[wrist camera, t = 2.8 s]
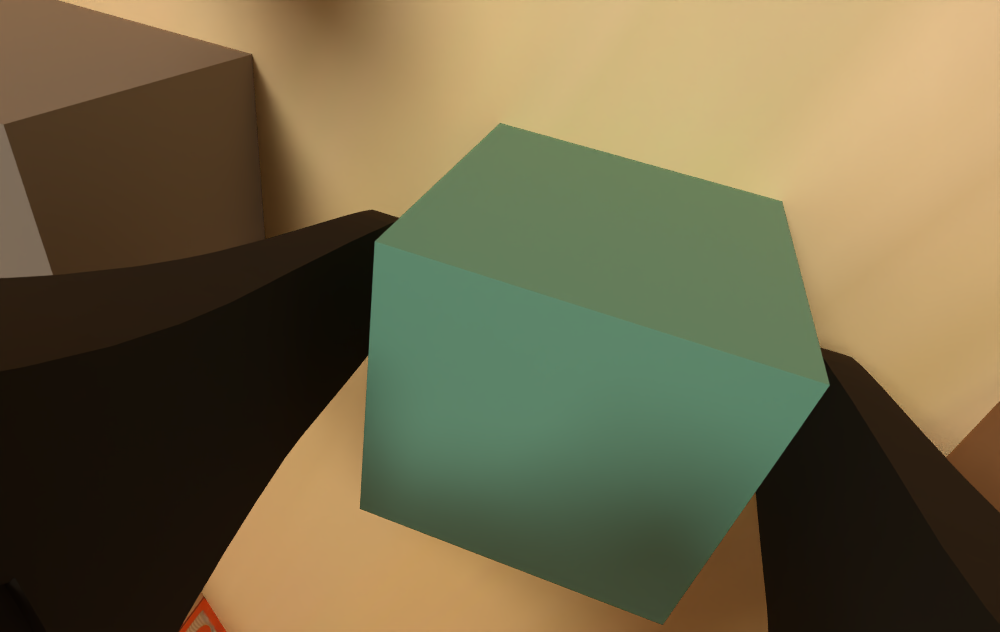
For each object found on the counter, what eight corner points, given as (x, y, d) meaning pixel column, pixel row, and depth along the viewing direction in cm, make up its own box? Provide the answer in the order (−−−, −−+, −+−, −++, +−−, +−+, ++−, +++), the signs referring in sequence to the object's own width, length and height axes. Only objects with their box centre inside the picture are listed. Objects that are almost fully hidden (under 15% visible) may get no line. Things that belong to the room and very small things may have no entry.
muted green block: (781, 199, 10) (829, 384, 6) (677, 407, 13) (662, 625, 9) (501, 121, 11) (374, 241, 7) (463, 336, 14) (359, 508, 10)
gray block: (254, 53, 11) (2, 124, 7) (269, 272, 14) (96, 408, 10) (35, -8, 12) (-306, 26, 8) (92, 213, 15) (-134, 319, 11)
